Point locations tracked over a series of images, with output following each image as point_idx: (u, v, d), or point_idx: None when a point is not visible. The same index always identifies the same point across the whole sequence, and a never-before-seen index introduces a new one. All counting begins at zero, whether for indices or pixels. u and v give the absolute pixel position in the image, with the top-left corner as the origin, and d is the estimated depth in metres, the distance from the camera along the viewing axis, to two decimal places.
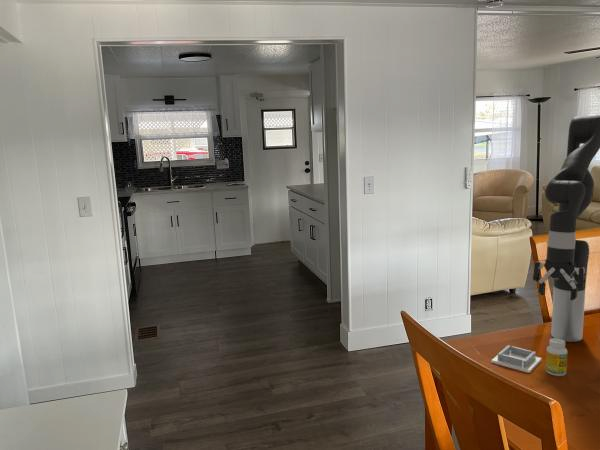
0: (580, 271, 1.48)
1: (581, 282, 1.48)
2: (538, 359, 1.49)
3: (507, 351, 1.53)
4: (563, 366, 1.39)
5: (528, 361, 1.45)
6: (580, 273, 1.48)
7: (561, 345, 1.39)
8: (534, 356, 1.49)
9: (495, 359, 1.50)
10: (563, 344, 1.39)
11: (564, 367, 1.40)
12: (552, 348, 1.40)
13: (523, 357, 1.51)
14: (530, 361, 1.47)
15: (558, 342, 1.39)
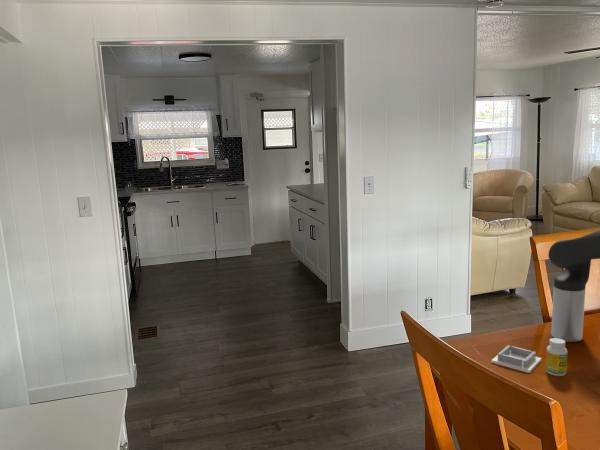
0: None
1: None
2: (538, 359, 1.49)
3: (507, 351, 1.53)
4: (563, 366, 1.39)
5: (528, 361, 1.45)
6: None
7: (561, 345, 1.39)
8: (534, 356, 1.49)
9: (495, 359, 1.50)
10: (563, 344, 1.39)
11: (564, 367, 1.40)
12: (552, 348, 1.40)
13: (523, 357, 1.51)
14: (530, 361, 1.47)
15: (558, 342, 1.39)
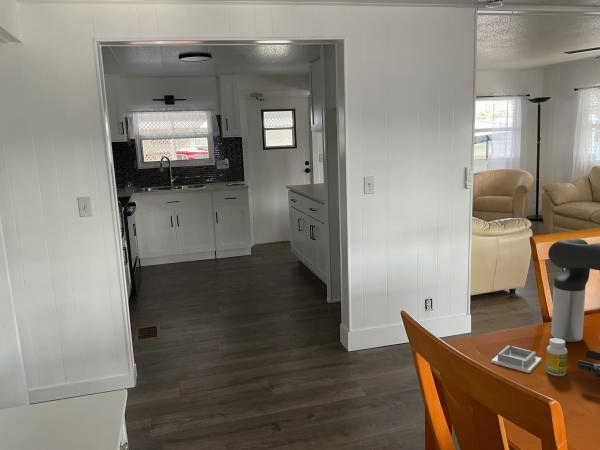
0: None
1: None
2: (538, 359, 1.49)
3: (507, 351, 1.53)
4: (563, 366, 1.39)
5: (528, 361, 1.45)
6: None
7: (561, 345, 1.39)
8: (534, 356, 1.49)
9: (495, 359, 1.50)
10: (563, 344, 1.39)
11: (564, 367, 1.40)
12: (552, 348, 1.40)
13: (523, 357, 1.51)
14: (530, 361, 1.47)
15: (558, 342, 1.39)
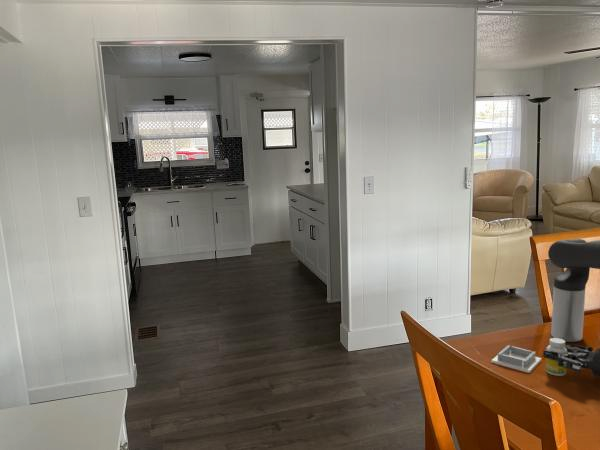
0: None
1: None
2: (538, 359, 1.49)
3: (507, 351, 1.53)
4: None
5: (528, 361, 1.45)
6: None
7: (561, 345, 1.39)
8: (534, 356, 1.49)
9: (495, 359, 1.50)
10: (563, 344, 1.39)
11: None
12: (552, 348, 1.40)
13: (523, 357, 1.51)
14: (530, 361, 1.47)
15: (558, 342, 1.39)
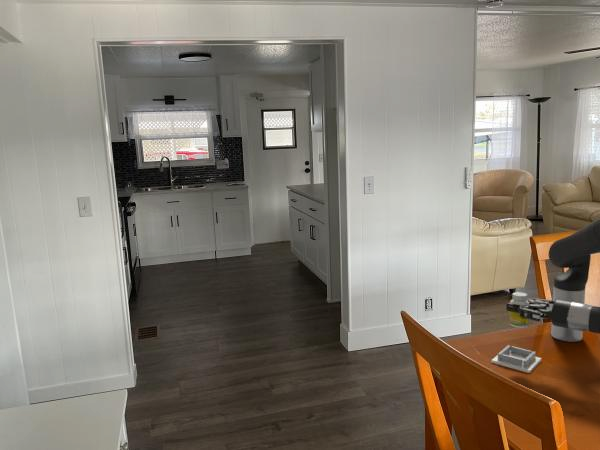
0: None
1: None
2: (538, 359, 1.49)
3: (507, 351, 1.53)
4: (525, 318, 1.45)
5: (528, 361, 1.45)
6: None
7: (523, 298, 1.44)
8: (534, 356, 1.49)
9: (495, 359, 1.50)
10: (525, 297, 1.44)
11: (526, 319, 1.45)
12: (515, 301, 1.46)
13: (523, 357, 1.51)
14: (530, 361, 1.47)
15: (520, 295, 1.45)
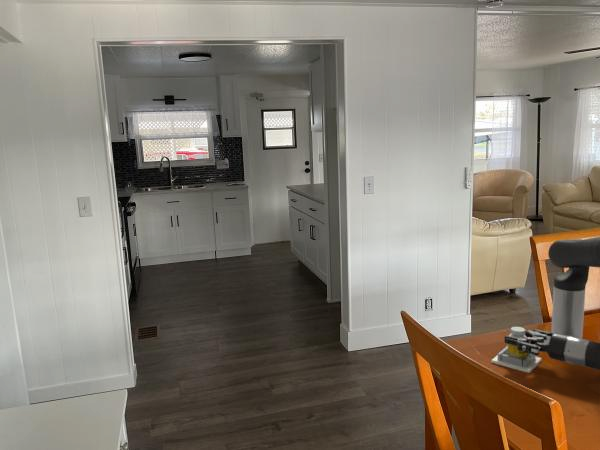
0: None
1: None
2: (538, 359, 1.49)
3: (507, 351, 1.53)
4: (523, 353, 1.47)
5: (528, 361, 1.45)
6: None
7: (521, 333, 1.46)
8: (534, 356, 1.49)
9: (495, 359, 1.50)
10: (523, 332, 1.46)
11: (524, 354, 1.47)
12: (513, 336, 1.48)
13: None
14: (530, 361, 1.47)
15: (518, 330, 1.47)
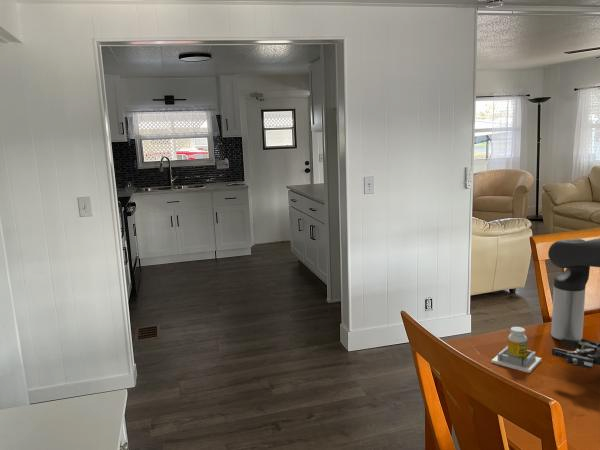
0: None
1: None
2: (538, 359, 1.49)
3: (507, 351, 1.53)
4: (523, 353, 1.47)
5: (528, 361, 1.45)
6: None
7: (521, 333, 1.46)
8: (534, 356, 1.49)
9: (495, 359, 1.50)
10: (523, 332, 1.46)
11: (524, 354, 1.47)
12: (513, 336, 1.48)
13: None
14: (530, 361, 1.47)
15: (518, 330, 1.47)
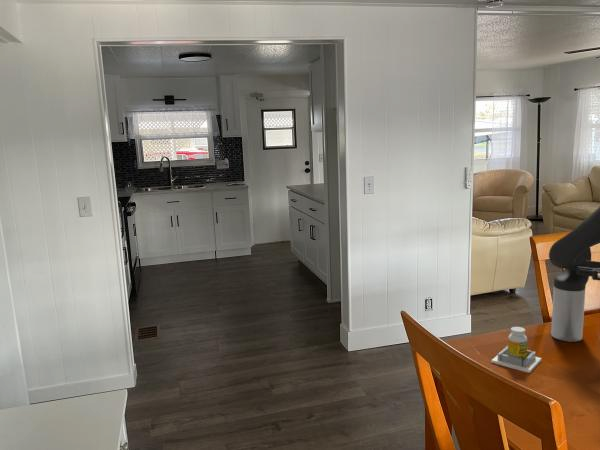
0: None
1: None
2: (538, 359, 1.49)
3: (507, 351, 1.53)
4: (523, 353, 1.47)
5: (528, 361, 1.45)
6: None
7: (521, 333, 1.46)
8: (534, 356, 1.49)
9: (495, 359, 1.50)
10: (523, 332, 1.46)
11: (524, 354, 1.47)
12: (513, 336, 1.48)
13: None
14: (530, 361, 1.47)
15: (518, 330, 1.47)
